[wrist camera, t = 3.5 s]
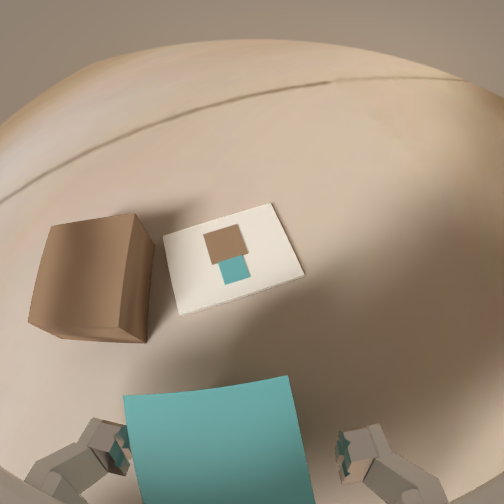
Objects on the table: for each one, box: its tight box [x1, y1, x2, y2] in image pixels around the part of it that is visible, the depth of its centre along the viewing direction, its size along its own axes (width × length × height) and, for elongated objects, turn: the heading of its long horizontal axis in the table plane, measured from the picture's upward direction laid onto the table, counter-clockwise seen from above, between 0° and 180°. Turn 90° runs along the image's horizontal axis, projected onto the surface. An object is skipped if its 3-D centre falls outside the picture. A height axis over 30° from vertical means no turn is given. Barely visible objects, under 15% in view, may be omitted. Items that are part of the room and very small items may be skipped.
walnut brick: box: [28, 213, 155, 343], centre depth 16 cm, size 7×7×4 cm
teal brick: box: [123, 375, 315, 504], centre depth 9 cm, size 4×4×9 cm
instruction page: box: [162, 203, 304, 317], centre depth 19 cm, size 8×6×1 cm
